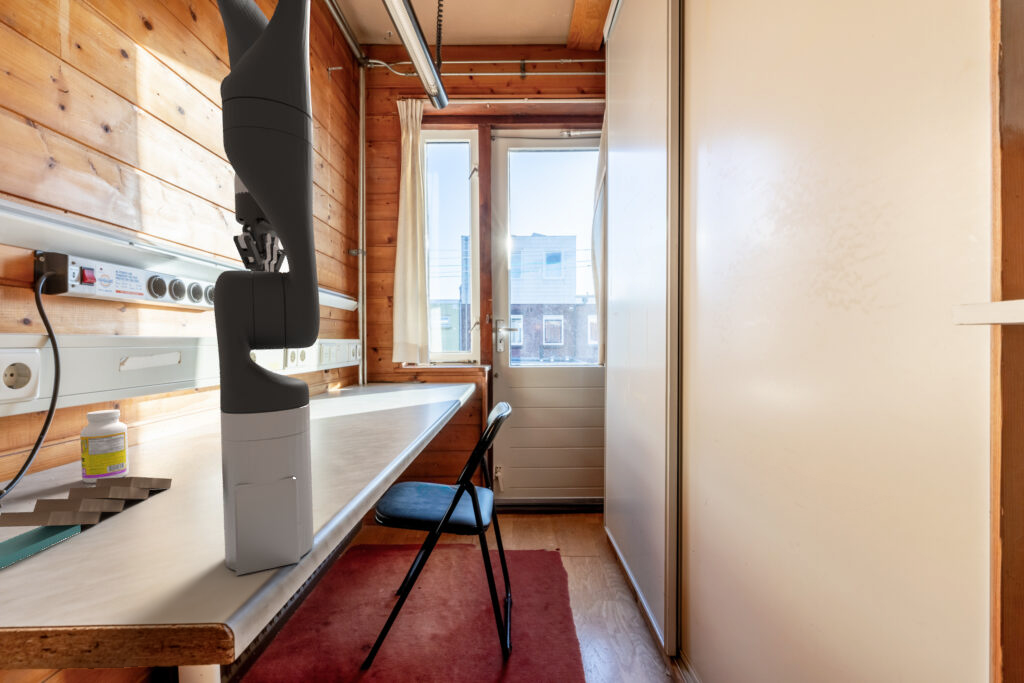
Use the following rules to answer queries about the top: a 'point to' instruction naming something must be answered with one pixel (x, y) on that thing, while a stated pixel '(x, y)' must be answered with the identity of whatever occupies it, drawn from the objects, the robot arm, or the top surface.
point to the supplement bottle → (104, 446)
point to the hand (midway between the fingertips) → (263, 297)
